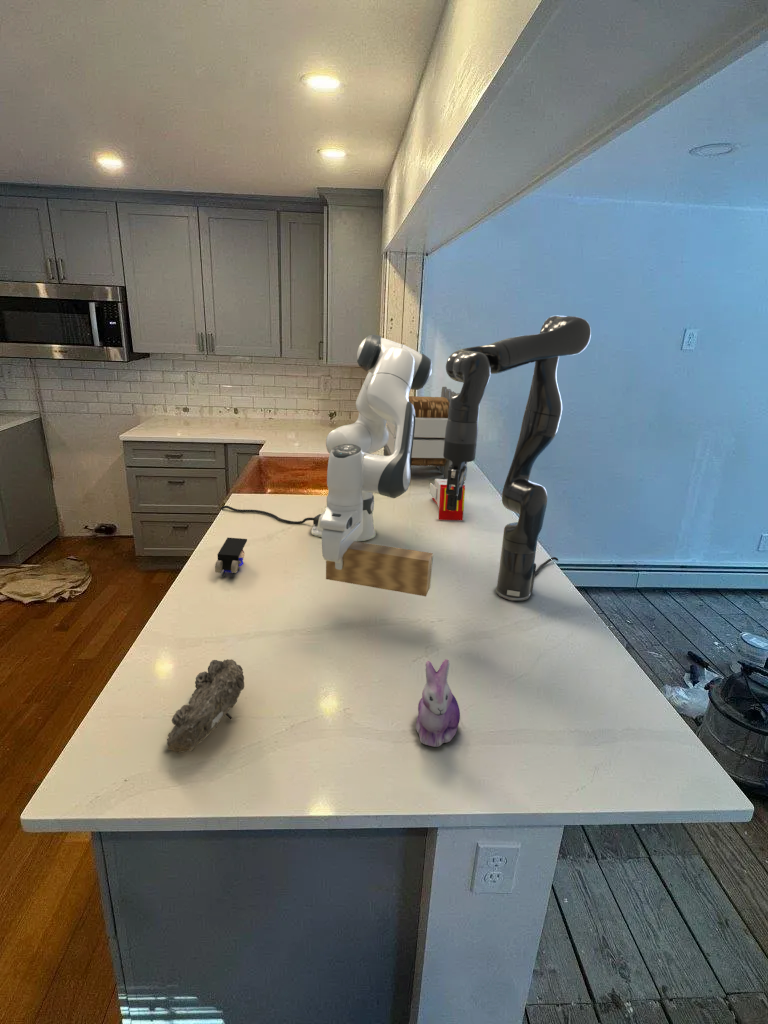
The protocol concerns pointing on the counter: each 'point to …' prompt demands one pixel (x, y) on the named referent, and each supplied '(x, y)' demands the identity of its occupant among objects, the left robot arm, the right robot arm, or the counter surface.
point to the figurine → (437, 708)
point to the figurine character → (230, 556)
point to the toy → (441, 501)
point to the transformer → (427, 431)
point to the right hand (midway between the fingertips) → (454, 504)
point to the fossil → (206, 705)
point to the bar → (384, 568)
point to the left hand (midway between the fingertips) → (343, 563)
